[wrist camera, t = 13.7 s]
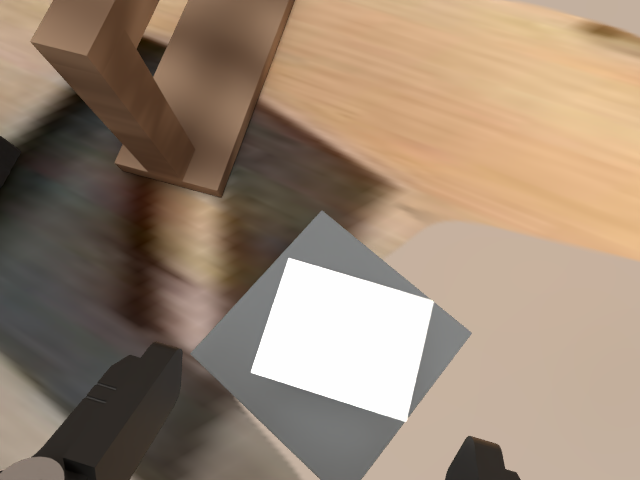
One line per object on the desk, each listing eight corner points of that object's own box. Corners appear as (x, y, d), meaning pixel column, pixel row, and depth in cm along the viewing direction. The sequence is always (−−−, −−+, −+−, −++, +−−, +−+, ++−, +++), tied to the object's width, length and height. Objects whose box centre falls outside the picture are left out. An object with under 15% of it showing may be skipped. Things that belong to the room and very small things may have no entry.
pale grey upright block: (376, 401, 21) (406, 421, 14) (274, 369, 21) (250, 372, 14) (396, 321, 22) (433, 300, 15) (299, 291, 22) (288, 257, 15)
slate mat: (193, 353, 22) (190, 353, 22) (321, 213, 24) (321, 210, 24) (343, 498, 20) (344, 502, 20) (468, 333, 22) (472, 333, 22)
